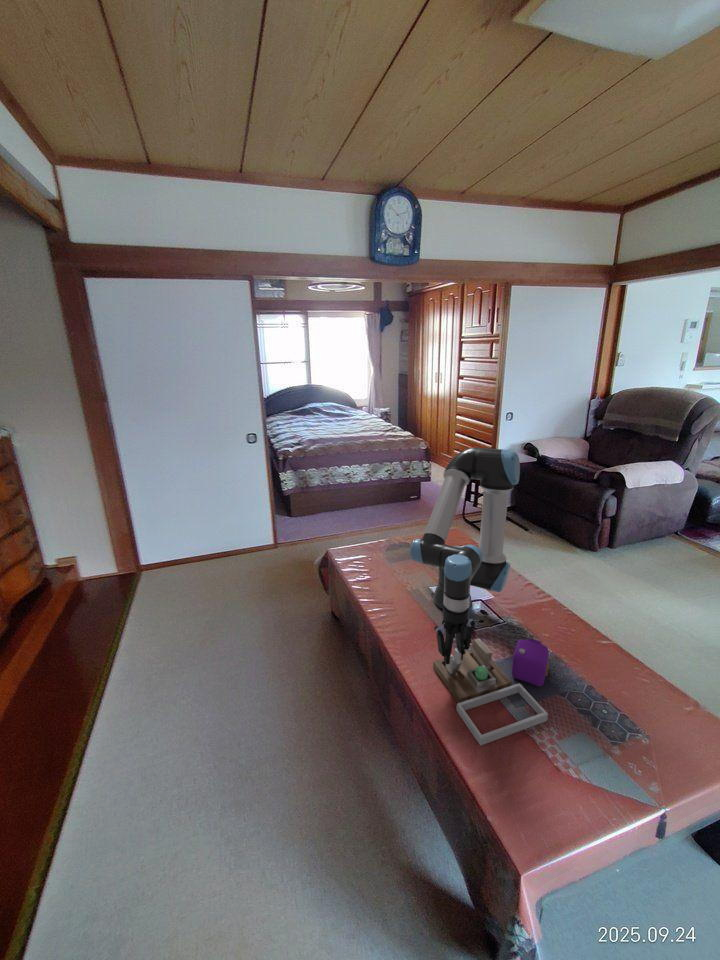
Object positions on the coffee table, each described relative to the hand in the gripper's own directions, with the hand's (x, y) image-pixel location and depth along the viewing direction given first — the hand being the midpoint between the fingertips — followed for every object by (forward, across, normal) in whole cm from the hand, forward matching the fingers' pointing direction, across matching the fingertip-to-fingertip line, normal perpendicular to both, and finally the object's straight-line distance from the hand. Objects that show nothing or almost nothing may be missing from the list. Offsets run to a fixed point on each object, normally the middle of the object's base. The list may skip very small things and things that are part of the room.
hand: (452, 669), depth 128 cm
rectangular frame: (+3, -5, +18) cm, 18 cm away
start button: (-1, -5, +8) cm, 9 cm away
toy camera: (+3, -24, +7) cm, 25 cm away
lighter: (+2, 0, 0) cm, 2 cm away
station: (+3, -5, +3) cm, 6 cm away
